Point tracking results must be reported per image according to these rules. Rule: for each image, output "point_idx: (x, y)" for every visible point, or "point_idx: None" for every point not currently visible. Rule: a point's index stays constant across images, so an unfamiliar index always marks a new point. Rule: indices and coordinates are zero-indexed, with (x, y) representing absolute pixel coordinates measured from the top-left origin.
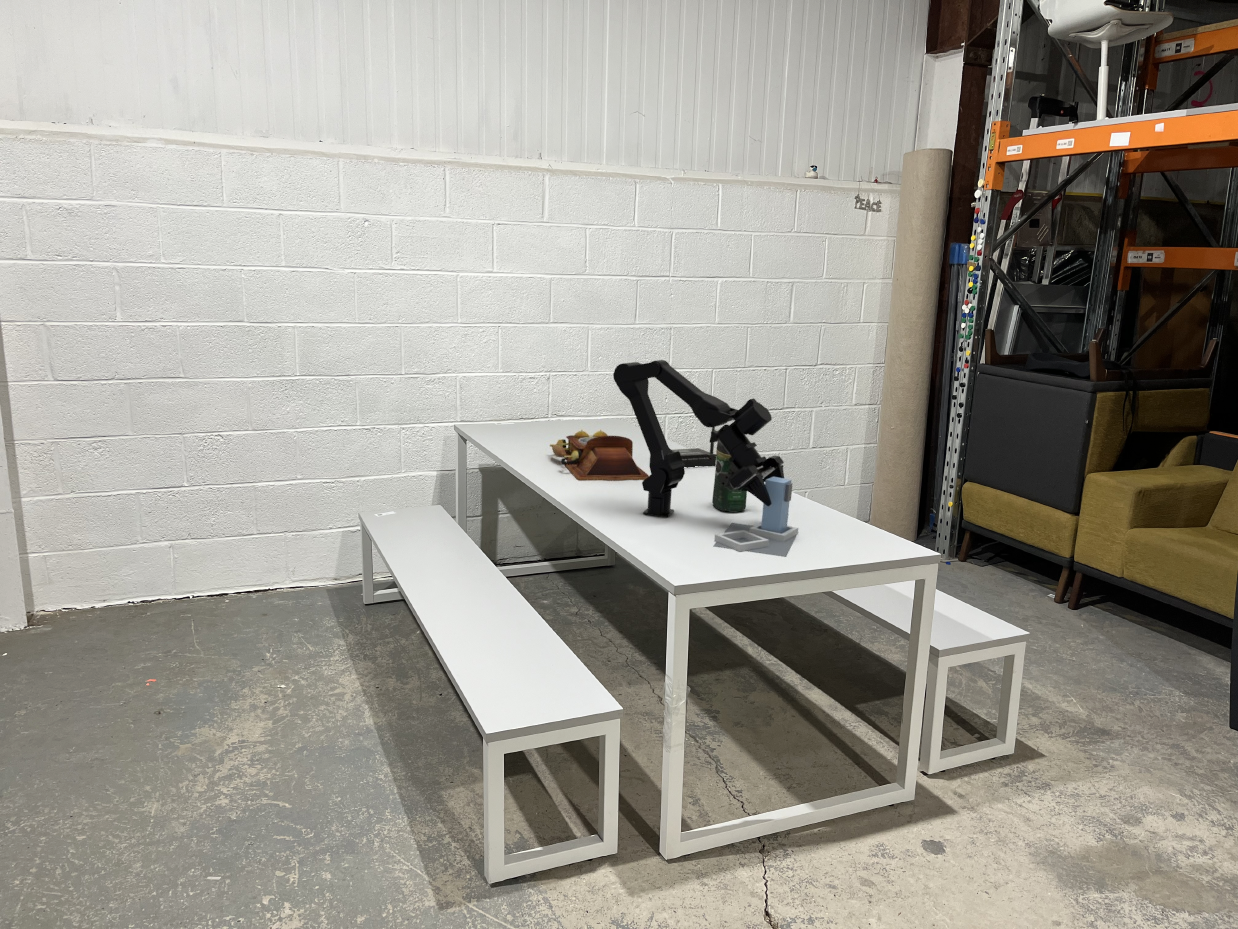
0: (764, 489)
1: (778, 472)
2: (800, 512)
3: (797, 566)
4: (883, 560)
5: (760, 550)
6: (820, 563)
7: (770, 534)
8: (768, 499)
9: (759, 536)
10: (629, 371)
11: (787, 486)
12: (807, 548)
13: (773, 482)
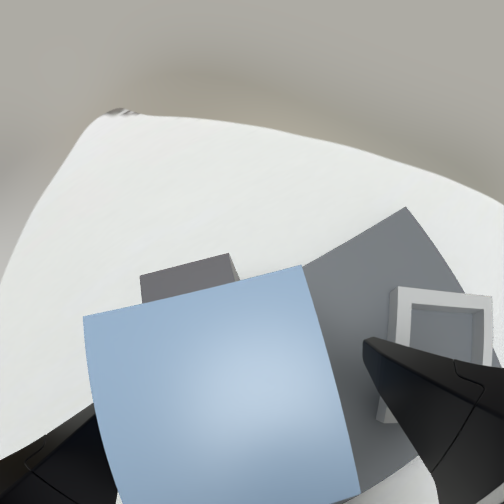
0: (459, 362)
1: (28, 498)
2: (7, 433)
3: (397, 178)
4: (188, 119)
5: (433, 279)
6: (331, 161)
7: None
8: (397, 346)
9: (397, 335)
10: None
11: (234, 276)
12: (253, 248)
13: (337, 399)
